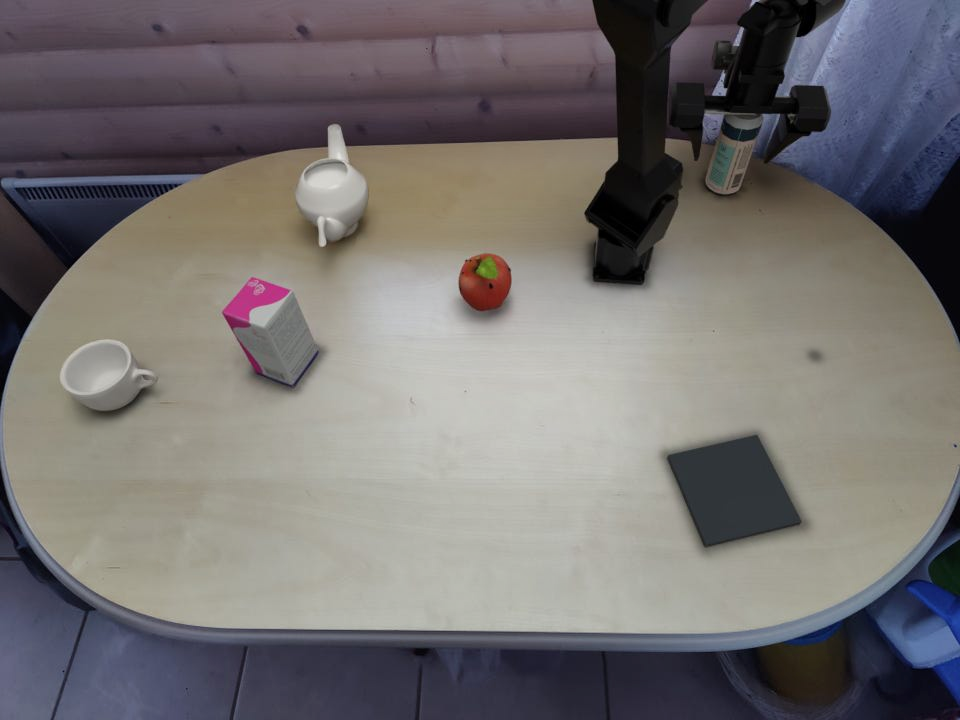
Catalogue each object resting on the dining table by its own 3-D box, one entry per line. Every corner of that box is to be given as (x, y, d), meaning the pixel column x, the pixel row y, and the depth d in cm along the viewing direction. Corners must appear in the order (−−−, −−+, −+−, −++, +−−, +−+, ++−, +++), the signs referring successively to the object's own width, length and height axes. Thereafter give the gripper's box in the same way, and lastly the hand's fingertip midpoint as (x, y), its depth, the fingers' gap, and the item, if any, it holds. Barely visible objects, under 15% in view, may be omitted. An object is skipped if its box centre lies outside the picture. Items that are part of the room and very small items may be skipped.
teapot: (297, 281, 89) (276, 230, 81) (316, 178, 100) (299, 125, 93) (369, 278, 89) (355, 227, 81) (381, 175, 100) (369, 121, 92)
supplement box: (320, 350, 83) (294, 289, 73) (293, 389, 80) (263, 330, 70) (281, 336, 84) (250, 274, 75) (253, 372, 81) (218, 313, 72)
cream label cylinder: (741, 177, 96) (768, 102, 86) (737, 199, 93) (763, 125, 83) (707, 170, 97) (729, 96, 87) (702, 192, 94) (723, 118, 84)
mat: (704, 547, 67) (706, 545, 66) (667, 457, 72) (668, 454, 72) (800, 523, 68) (802, 521, 67) (755, 436, 73) (757, 434, 73)
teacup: (75, 419, 79) (48, 395, 74) (98, 364, 83) (75, 338, 79) (158, 420, 78) (136, 396, 74) (178, 364, 82) (158, 338, 78)
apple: (447, 301, 86) (439, 245, 78) (488, 273, 88) (484, 216, 80) (487, 337, 82) (484, 283, 74) (528, 306, 85) (529, 251, 76)
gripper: (837, 15, 82) (795, 123, 95) (678, 13, 84) (658, 119, 97) (852, 70, 76) (805, 178, 89) (681, 67, 78) (659, 173, 91)
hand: (730, 160), depth 92 cm, fingers open, 9 cm apart
